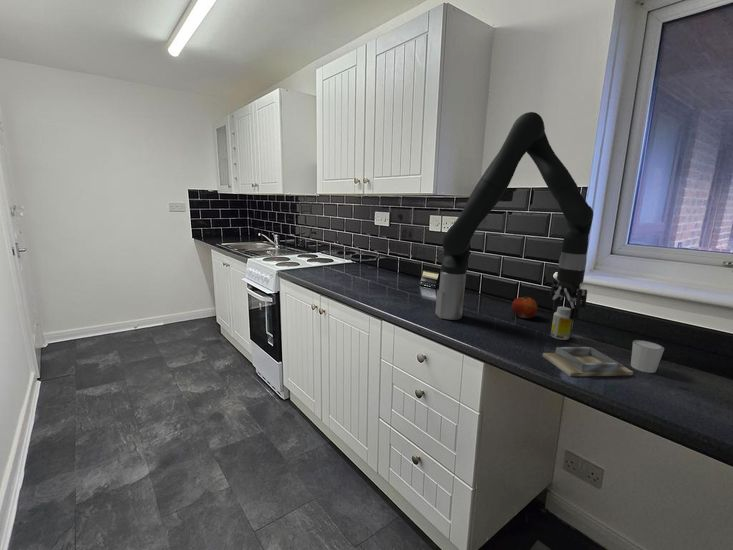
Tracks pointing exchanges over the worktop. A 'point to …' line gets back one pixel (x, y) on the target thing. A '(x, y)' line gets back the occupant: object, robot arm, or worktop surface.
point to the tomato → (524, 307)
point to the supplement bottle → (561, 324)
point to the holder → (585, 362)
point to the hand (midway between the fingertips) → (564, 315)
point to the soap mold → (539, 546)
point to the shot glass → (646, 356)
